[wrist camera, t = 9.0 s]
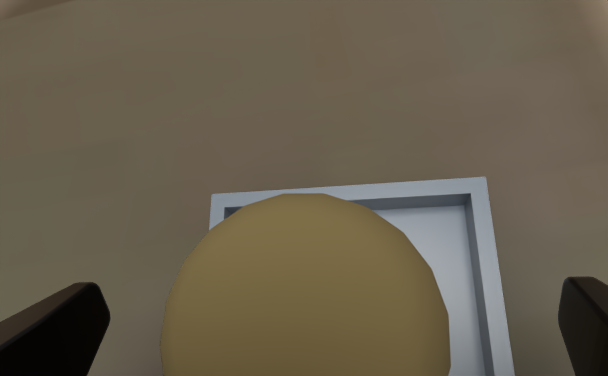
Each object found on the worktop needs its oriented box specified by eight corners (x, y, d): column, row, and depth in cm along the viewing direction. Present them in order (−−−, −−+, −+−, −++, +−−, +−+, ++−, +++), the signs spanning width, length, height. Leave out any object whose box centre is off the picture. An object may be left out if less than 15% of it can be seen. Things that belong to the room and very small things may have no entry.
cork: (269, 265, 18) (108, 174, 8) (415, 246, 17) (446, 114, 7) (281, 427, 16) (82, 587, 6) (447, 414, 15) (558, 578, 5)
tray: (516, 499, 14) (536, 526, 12) (214, 479, 16) (188, 499, 14) (475, 194, 18) (485, 176, 16) (230, 208, 20) (211, 194, 18)
